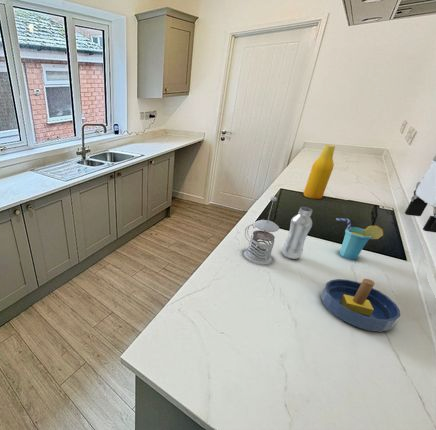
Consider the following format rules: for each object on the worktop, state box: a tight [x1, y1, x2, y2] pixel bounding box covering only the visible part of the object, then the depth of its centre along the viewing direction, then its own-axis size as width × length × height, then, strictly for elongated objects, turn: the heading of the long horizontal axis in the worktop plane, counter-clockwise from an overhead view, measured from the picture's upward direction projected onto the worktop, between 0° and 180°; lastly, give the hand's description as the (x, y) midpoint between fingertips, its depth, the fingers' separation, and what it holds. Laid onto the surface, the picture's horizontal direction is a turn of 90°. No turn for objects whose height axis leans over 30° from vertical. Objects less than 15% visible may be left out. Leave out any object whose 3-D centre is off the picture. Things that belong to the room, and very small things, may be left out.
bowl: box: [320, 278, 401, 333], centre depth 76 cm, size 16×16×4 cm
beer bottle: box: [303, 144, 336, 200], centre depth 145 cm, size 9×9×29 cm
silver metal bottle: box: [281, 206, 313, 260], centre depth 96 cm, size 6×7×20 cm
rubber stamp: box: [341, 278, 376, 316], centre depth 74 cm, size 6×4×10 cm, turn 64°
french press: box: [243, 196, 280, 265], centre depth 96 cm, size 10×12×25 cm
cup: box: [335, 217, 384, 261], centre depth 97 cm, size 14×8×15 cm, turn 63°
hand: (421, 222), depth 69 cm, fingers open, 9 cm apart
